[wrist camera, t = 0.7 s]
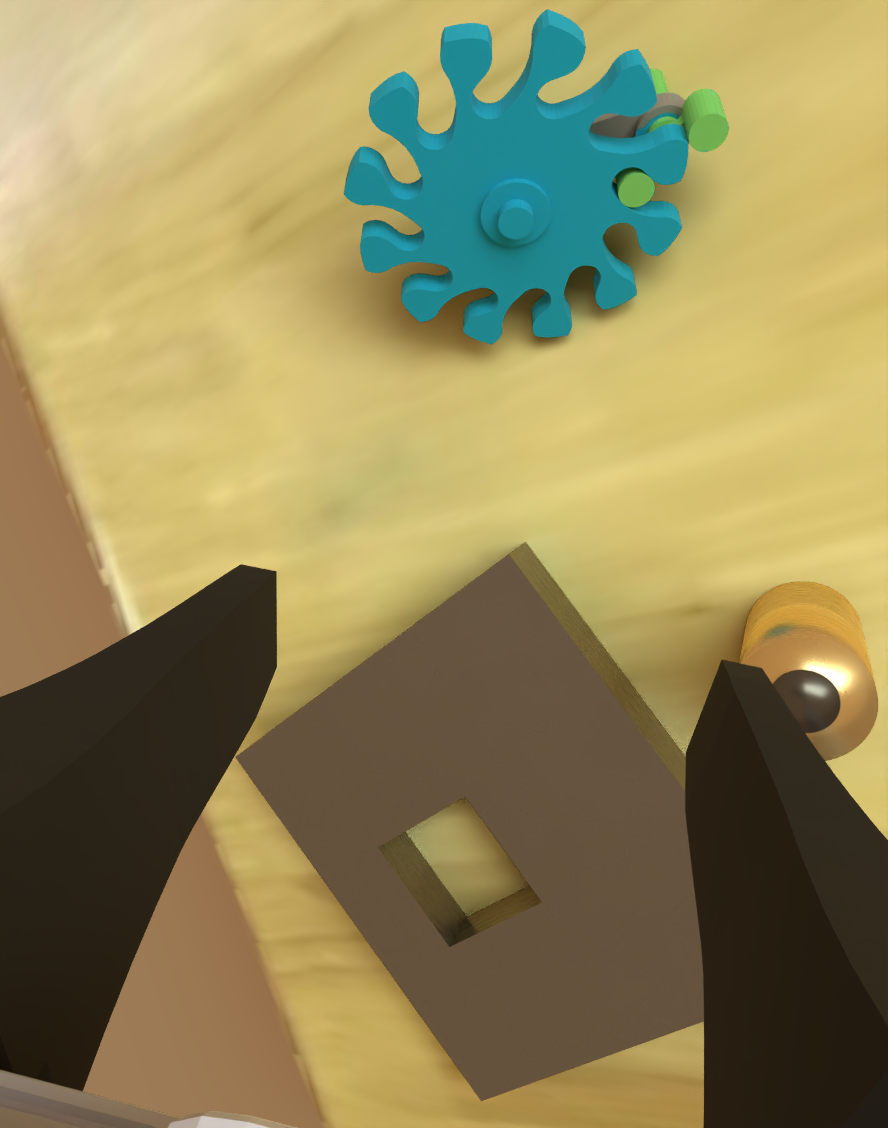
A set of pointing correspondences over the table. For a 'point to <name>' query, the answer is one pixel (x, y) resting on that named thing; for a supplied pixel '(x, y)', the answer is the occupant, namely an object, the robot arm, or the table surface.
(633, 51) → the gear
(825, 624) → the bushing
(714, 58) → the table surface
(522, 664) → the plate
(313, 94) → the table surface
